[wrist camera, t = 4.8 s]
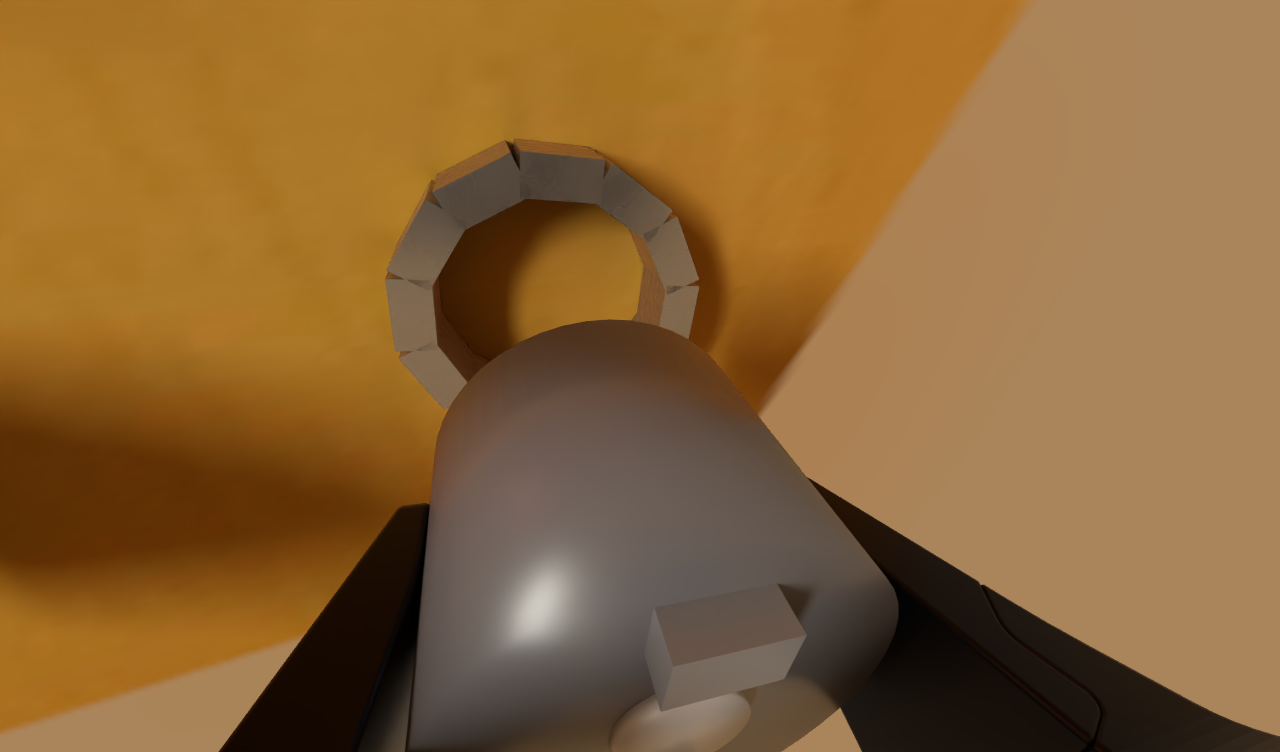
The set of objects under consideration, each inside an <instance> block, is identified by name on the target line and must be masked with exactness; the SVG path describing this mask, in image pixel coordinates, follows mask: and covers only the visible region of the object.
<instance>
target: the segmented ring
mask: <svg viewBox="0 0 1280 752" xmlns="http://www.w3.org/2000/svg"><path fill="white" fill-rule="evenodd" d="M525 199H538V200H551V201H565V202H578V203H591V204H596V205H597V206H599V207H600V208H601V209H603V210H604V211H606V212H607V213H608V214H610V215H611V216H613V217H614V218H615V219H617V220H618V221H620V222H621V223H622V224H624V225H625V226H627V227H628V228H629V230H630V232H631V235H632V237H633V240H634V242H635V244H636V247H637V249H638V252H639V254H640V256H641V259H642V261H643V264H644V271H643V278H642V285H641V292H640V299H639V306H638V313H637V314H636V315H635V317H634V318H633V319H632V321H636V322H642V323H647V324H653V325H656V326H659V327H662V328H665V329H668V330H671V331H673V332H675V333H677V334H679V335H681V336H683V337H685V338H687V339H689V335H690V330H691V325H692V320H693V316H694V311H695V306H696V301H697V296H698V291H699V285H698V284H697V283H696V282H695V281H697V280H699V278H698V275H697V272H696V269H695V266H694V263H693V260H692V257H691V254H690V251H689V249H688V246H687V243H686V240H685V237H684V234H683V231H682V228H681V225H680V223H679V220H678V217H677V216H676V215H675V214H673V213H672V211H673V210H672V209H671V208H669V207H668V206H667V205H666V204H664V203H663V202H662V201H661V200H659V199H658V198H657V197H656V196H654V195H653V194H652V193H651V192H649V191H648V190H647V189H645V188H644V187H643V186H642V185H640V184H639V183H638V182H637V181H635V180H634V179H633V178H632V177H630V176H629V175H628V174H627V173H625V172H624V171H623V170H621V169H620V168H619V167H618V166H616V165H615V164H614V163H613V162H611V161H610V160H608V159H607V158H606V157H604V156H603V155H602V154H600V153H599V152H598V151H596V150H595V152H594V151H593V150H591V149H590V148H589V147H585V146H576V145H567V144H558V143H549V142H540V141H531V140H522V139H514V156H513V154H512V152H511V150H510V148H509V147H508V145H507V143H506V141H505V140H504V141H502V142H500V143H498V144H496V145H494V146H492V147H490V148H488V149H486V150H485V151H483V152H481V153H479V154H477V155H475V156H473V157H471V158H469V159H467V160H465V161H463V162H461V163H459V164H457V165H455V166H453V167H451V168H449V169H447V170H445V171H443V172H441V173H439V174H437V178H436V181H435V182H434V181H432V180H431V182H430V184H429V186H428V187H427V189H426V191H425V193H424V195H423V197H422V199H421V201H420V202H419V204H418V206H417V208H416V210H415V212H414V214H413V215H412V217H411V219H410V221H409V223H408V225H407V227H406V229H405V230H404V232H403V234H402V236H401V238H400V240H399V242H398V244H397V246H396V249H395V251H394V253H393V256H392V258H391V261H390V263H389V266H388V268H387V271H388V273H387V276H386V278H385V282H386V289H387V296H388V303H389V310H390V318H391V325H392V332H393V339H394V346H395V351H401V352H400V356H399V359H400V361H401V362H402V363H403V364H404V365H405V366H406V367H407V368H408V370H409V371H410V372H411V373H412V374H413V375H414V376H415V377H416V379H417V380H418V381H419V382H420V383H421V384H422V385H423V386H424V388H425V389H426V390H427V391H428V392H429V393H430V394H431V396H432V397H433V398H434V399H435V400H436V401H437V402H438V403H439V405H440V406H441V407H442V408H443V409H446V408H448V407H450V406H451V404H452V402H453V401H454V399H455V398H456V397H457V395H458V394H459V392H460V391H461V390H462V388H463V387H464V386H465V385H466V384H467V382H468V381H469V380H470V379H471V378H472V377H473V376H474V375H475V374H476V373H477V372H478V371H479V370H480V369H481V368H483V367H484V366H485V365H487V364H488V363H489V362H490V360H488V359H486V358H483V357H481V356H479V355H477V354H475V353H473V352H472V351H471V350H470V348H469V347H468V346H467V344H466V343H465V342H464V340H463V339H462V338H461V336H460V335H459V334H458V332H457V331H456V330H455V329H454V327H453V326H452V325H451V323H450V322H449V321H448V319H447V318H446V317H445V315H444V314H443V313H442V310H441V298H440V286H439V274H440V272H441V270H442V268H443V267H444V265H445V263H446V262H447V260H448V258H449V256H450V255H451V253H452V251H453V249H454V248H455V246H456V244H457V243H458V241H459V239H460V237H461V236H462V234H463V232H464V230H466V229H468V228H470V227H472V226H474V225H476V224H478V223H480V222H482V221H484V220H486V219H488V218H490V217H492V216H494V215H496V214H498V213H499V212H501V211H503V210H505V209H507V208H509V207H511V206H513V205H515V204H517V203H519V202H521V201H523V200H525Z"/></svg>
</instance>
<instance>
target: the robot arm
mask: <svg viewBox="0 0 1280 752" xmlns="http://www.w3.org/2000/svg"><path fill="white" fill-rule="evenodd" d="M807 478H808V477H807ZM808 479H809V481H810V482H811V483H812V484H813V486H814V487H815V488H816V490H817V491H818V492H819V493H820V495H821V496H822V497H823V498H824V500H825V501H826V502H827V503H828V505H829V506H830V507H831V508H832V510H833V511H834V512H835V513H836V515H837V516H838V517H839V518H840V520H841V521H842V522H843V523H844V525H845V526H846V527H847V529H848V530H849V531H850V532H851V534H852V535H853V536H854V537H855V539H856V540H857V541H858V542H859V544H860V545H861V546H862V547H863V549H864V550H865V551H866V552H867V554H868V555H869V556H870V557H871V559H872V560H873V561H874V563H875V564H876V565H877V566H878V568H879V569H880V570H881V571H882V573H883V574H884V575H885V576H886V578H887V579H888V581H889V582H890V584H891V585H892V587H893V588H894V590H895V593H896V597H897V600H898V622H897V626H896V630H895V634H894V636H893V639H892V641H891V643H890V646H889V648H888V650H887V652H886V653H885V655H884V656H883V658H882V660H881V661H880V663H879V665H878V666H877V667H876V669H875V670H874V671H873V673H872V674H871V675H870V676H869V678H868V679H867V680H866V681H865V682H864V684H863V685H862V686H861V687H860V688H859V689H858V690H857V691H856V692H855V693H854V695H852V696H851V697H850V698H849V699H848V700H847V701H846V702H845V703H844V704H843V705H842V706H841V707H840V708H841V710H842V712H843V714H844V716H845V718H846V720H847V722H848V724H849V726H850V728H851V730H852V732H853V734H854V736H855V738H856V740H857V742H858V745H859V747H860V749H861V751H862V752H1280V736H1276V735H1272V734H1269V733H1266V732H1263V731H1260V730H1256V729H1253V728H1251V727H1248V726H1245V725H1242V724H1240V723H1237V722H1234V721H1232V720H1230V719H1227V718H1225V717H1223V716H1220V715H1218V714H1216V713H1214V712H1212V711H1209V710H1208V709H1206V708H1204V707H1202V706H1200V705H1198V704H1196V703H1194V702H1192V701H1190V700H1188V699H1186V698H1185V697H1183V696H1181V695H1179V694H1177V693H1175V692H1174V691H1172V690H1170V689H1168V688H1166V687H1164V686H1162V685H1161V684H1159V683H1157V682H1155V681H1153V680H1151V679H1150V678H1147V677H1146V676H1144V675H1142V674H1140V673H1138V672H1137V671H1135V670H1133V669H1131V668H1129V667H1127V666H1126V665H1124V664H1122V663H1120V662H1118V661H1116V660H1114V659H1112V658H1111V657H1109V656H1107V655H1105V654H1103V653H1101V652H1099V651H1098V650H1096V649H1094V648H1092V647H1090V646H1089V645H1087V644H1085V643H1083V642H1081V641H1080V640H1078V639H1076V638H1074V637H1072V636H1070V635H1068V634H1067V633H1065V632H1063V631H1062V630H1060V629H1058V628H1056V627H1054V626H1052V625H1051V624H1049V623H1047V622H1045V621H1044V620H1042V619H1040V618H1039V617H1037V616H1035V615H1034V614H1032V613H1030V612H1028V611H1027V610H1025V609H1023V608H1022V607H1020V606H1018V605H1017V604H1015V603H1013V602H1012V601H1010V600H1008V599H1007V598H1005V597H1003V596H1002V595H1000V594H998V593H997V592H995V591H993V590H992V589H990V588H989V587H987V586H985V585H980V583H979V582H978V581H977V580H975V579H974V578H972V577H970V576H969V575H967V574H965V573H964V572H962V571H960V570H959V569H957V568H955V567H954V566H952V565H951V564H949V563H947V562H946V561H944V560H942V559H941V558H939V557H937V556H936V555H934V554H933V553H931V552H929V551H928V550H926V549H924V548H923V547H921V546H919V545H918V544H916V543H915V542H913V541H911V540H910V539H908V538H906V537H904V536H903V535H901V534H900V533H898V532H897V531H894V530H893V529H891V528H890V527H888V526H887V525H885V524H883V523H882V522H880V521H878V520H877V519H875V518H873V517H872V516H870V515H869V514H867V513H865V512H864V511H862V510H860V509H859V508H857V507H855V506H854V505H852V504H851V503H849V502H847V501H846V500H844V499H842V498H841V497H839V496H837V495H836V494H834V493H832V492H831V491H829V490H827V489H826V488H824V487H823V486H821V485H819V484H818V483H816V482H814V481H813V480H811V479H810V478H808ZM429 508H430V506H429V505H428V504H426V503H421V504H413V505H404V506H401V507H400V508H398V509H397V511H396V512H395V513H394V515H393V516H392V517H391V519H390V520H389V521H388V523H387V524H386V525H385V527H384V528H383V529H382V531H381V532H380V534H379V535H378V536H377V538H376V539H375V540H374V542H373V543H372V544H371V546H370V547H369V548H368V550H367V551H366V553H365V554H364V555H363V557H362V558H361V559H360V561H359V562H358V563H357V565H356V566H355V567H354V569H353V570H352V572H351V573H350V574H349V576H348V577H347V578H346V580H345V581H344V582H343V584H342V585H341V586H340V588H339V589H338V591H337V592H336V593H335V595H334V596H333V597H332V599H331V600H330V601H329V603H328V604H327V605H326V607H325V608H324V610H323V611H322V612H321V614H320V615H319V616H318V618H317V619H316V620H315V622H314V623H313V624H312V626H311V627H310V629H309V630H308V631H307V633H306V634H305V635H304V637H303V638H302V639H301V641H300V642H299V643H298V645H297V646H296V648H295V649H294V650H293V652H292V653H291V654H290V656H289V657H288V658H287V660H286V661H285V662H284V664H283V665H282V667H281V668H280V669H279V671H278V672H277V673H276V675H275V676H274V678H273V679H272V680H271V681H270V683H269V684H268V686H267V687H266V688H265V690H264V691H263V692H262V694H261V695H260V696H259V698H258V699H257V701H256V702H255V703H254V705H253V706H252V707H251V709H250V710H249V711H248V713H247V714H246V715H245V717H244V718H243V720H242V721H241V722H240V724H239V725H238V726H237V728H236V729H235V730H234V732H233V733H232V734H231V736H230V737H229V738H228V740H227V741H226V743H225V744H224V745H223V747H222V748H221V749H220V751H219V752H405V745H406V735H407V725H408V715H409V705H410V695H411V685H412V675H413V666H414V656H415V646H416V636H417V626H418V616H419V606H420V596H421V586H422V577H423V567H424V558H425V548H426V538H427V528H428V518H429Z"/></svg>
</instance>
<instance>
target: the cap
mask: <svg viewBox="0 0 1280 752" xmlns="http://www.w3.org/2000/svg"><path fill="white" fill-rule="evenodd" d="M897 622H898V600H897V597H896V593H895V590H894V588H893V587H892V585H891V584H890V582H889V581H888V579H887V578H886V576H885V575H884V574H883V573H882V571H881V570H880V569H879V568H878V566H877V565H876V564H875V563H874V561H873V560H872V559H871V557H870V556H869V555H868V554H867V552H866V551H865V550H864V549H863V547H862V546H861V545H860V544H859V542H858V541H857V540H856V539H855V537H854V536H853V535H852V534H851V532H850V531H849V530H848V529H847V527H846V526H845V525H844V523H843V522H842V521H841V520H840V518H839V517H838V516H837V515H836V513H835V512H834V511H833V510H832V508H831V507H830V506H829V505H828V503H827V502H826V501H825V500H824V498H823V497H822V496H821V495H820V493H819V492H818V491H817V490H816V488H815V487H814V486H813V484H812V483H811V482H810V481H809V479H808V478H807V477H806V476H805V474H804V473H803V472H802V471H801V469H800V468H799V467H798V466H797V464H796V463H795V462H794V461H793V459H792V458H791V457H790V456H789V455H788V453H787V452H786V451H785V449H784V448H783V447H782V445H781V444H780V443H779V442H778V441H777V439H776V438H775V437H774V435H773V434H772V433H771V432H770V430H769V429H768V428H767V427H766V425H765V424H764V423H763V422H762V420H761V419H760V418H759V416H758V415H757V414H756V413H755V411H754V410H753V409H752V408H751V406H750V405H749V404H748V403H747V401H746V400H745V399H744V398H743V396H742V395H741V394H740V393H739V391H738V390H737V389H736V388H735V386H734V385H733V384H732V382H731V381H730V380H729V379H728V377H727V376H726V375H725V374H724V372H723V371H722V370H721V369H720V367H719V366H718V365H717V364H716V362H715V361H714V360H713V359H712V358H711V357H710V356H709V355H708V354H707V353H706V352H705V351H704V350H703V349H702V348H700V347H699V346H697V345H696V344H695V343H693V342H692V341H690V340H689V339H687V338H685V337H683V336H681V335H679V334H677V333H675V332H673V331H671V330H668V329H665V328H662V327H659V326H656V325H653V324H647V323H642V322H636V321H627V320H598V321H586V322H581V323H575V324H570V325H565V326H561V327H558V328H555V329H552V330H549V331H545V332H542V333H540V334H537V335H535V336H533V337H531V338H528V339H526V340H524V341H522V342H520V343H518V344H516V345H514V346H513V347H511V348H509V349H508V350H506V351H504V352H503V353H501V354H499V355H498V356H497V357H495V358H494V359H493V360H492V361H490V362H489V363H488V364H487V365H485V366H484V367H483V368H481V369H480V370H479V371H478V372H477V373H476V374H475V375H474V376H473V377H472V378H471V379H470V380H469V381H468V382H467V384H466V385H465V386H464V387H463V388H462V390H461V391H460V392H459V394H458V395H457V397H456V398H455V399H454V401H453V402H452V404H451V406H450V408H449V410H448V412H447V413H446V415H445V417H444V419H443V422H442V425H441V428H440V431H439V434H438V437H437V443H436V450H435V458H434V468H433V478H432V488H431V497H430V508H429V518H428V528H427V538H426V548H425V558H424V567H423V577H422V586H421V596H420V606H419V616H418V626H417V636H416V646H415V656H414V666H413V675H412V685H411V695H410V705H409V715H408V725H407V735H406V745H405V752H781V751H783V750H784V749H786V748H787V747H789V746H790V745H792V744H793V743H795V742H796V741H798V740H799V739H801V738H802V737H804V736H805V735H806V734H808V733H809V732H810V731H811V730H813V729H814V728H816V727H817V726H818V725H820V724H821V723H822V722H823V721H824V720H826V719H827V718H828V717H829V716H831V715H832V714H833V713H834V712H835V711H836V710H838V709H839V708H840V707H841V706H842V705H843V704H844V703H845V702H846V701H847V700H848V699H849V698H850V697H851V696H852V695H854V693H855V692H856V691H857V690H858V689H859V688H860V687H861V686H862V685H863V684H864V682H865V681H866V680H867V679H868V678H869V676H870V675H871V674H872V673H873V671H874V670H875V669H876V667H877V666H878V665H879V663H880V661H881V660H882V658H883V656H884V655H885V653H886V652H887V650H888V648H889V646H890V643H891V641H892V639H893V636H894V634H895V630H896V626H897Z"/></svg>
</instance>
